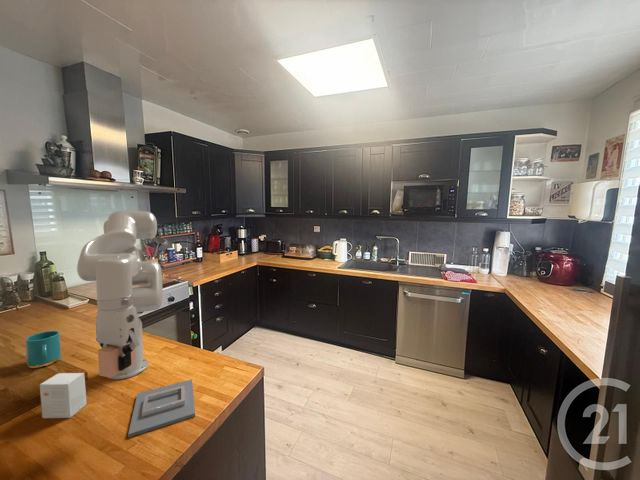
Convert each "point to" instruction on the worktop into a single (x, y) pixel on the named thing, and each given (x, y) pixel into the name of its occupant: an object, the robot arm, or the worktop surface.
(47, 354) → the cup
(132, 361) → the key block
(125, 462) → the worktop surface
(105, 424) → the worktop surface
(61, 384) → the small box
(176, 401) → the nest board
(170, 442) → the worktop surface
